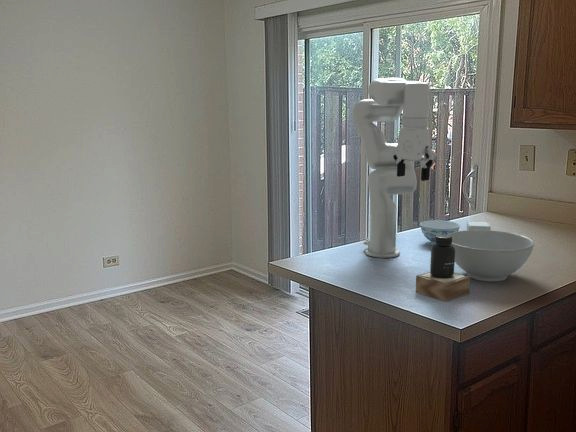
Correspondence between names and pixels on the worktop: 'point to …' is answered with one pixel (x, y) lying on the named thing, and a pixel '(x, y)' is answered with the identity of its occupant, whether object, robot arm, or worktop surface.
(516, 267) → the decorative bowl
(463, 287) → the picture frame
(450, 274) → the supplement bottle
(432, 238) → the chinaware
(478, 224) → the supplement box
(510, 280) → the worktop surface
